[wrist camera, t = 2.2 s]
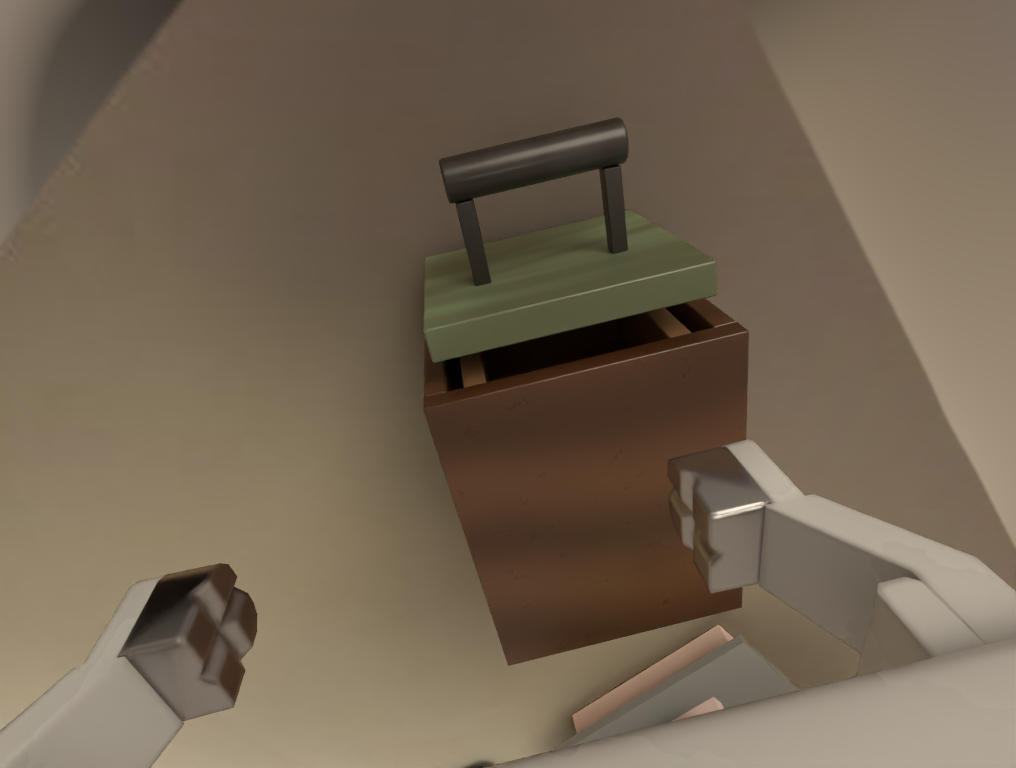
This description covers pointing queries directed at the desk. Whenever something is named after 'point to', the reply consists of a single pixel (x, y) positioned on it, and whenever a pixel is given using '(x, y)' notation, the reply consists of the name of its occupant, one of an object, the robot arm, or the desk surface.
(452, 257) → the drawer
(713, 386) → the cabinet
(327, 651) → the desk surface
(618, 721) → the desk lamp
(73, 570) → the desk surface
